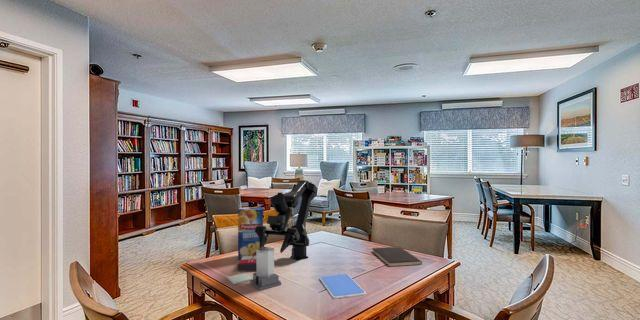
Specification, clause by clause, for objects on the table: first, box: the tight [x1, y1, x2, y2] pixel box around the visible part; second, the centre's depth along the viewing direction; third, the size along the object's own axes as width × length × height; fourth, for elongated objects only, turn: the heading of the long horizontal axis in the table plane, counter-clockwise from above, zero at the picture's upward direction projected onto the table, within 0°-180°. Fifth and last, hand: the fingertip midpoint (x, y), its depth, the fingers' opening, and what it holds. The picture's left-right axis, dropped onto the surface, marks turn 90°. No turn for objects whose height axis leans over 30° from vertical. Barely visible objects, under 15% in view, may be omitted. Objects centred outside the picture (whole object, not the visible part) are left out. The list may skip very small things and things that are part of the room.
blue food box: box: [237, 206, 264, 261], centre depth 155 cm, size 12×8×24 cm, turn 100°
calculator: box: [236, 256, 257, 272], centre depth 141 cm, size 11×4×15 cm
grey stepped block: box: [256, 246, 275, 278], centre depth 120 cm, size 7×5×10 cm
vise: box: [249, 271, 282, 291], centre depth 121 cm, size 9×9×6 cm
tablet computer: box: [318, 273, 367, 300], centre depth 118 cm, size 19×13×1 cm, turn 15°
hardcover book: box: [371, 246, 423, 267], centre depth 153 cm, size 16×23×2 cm
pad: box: [226, 272, 253, 285], centre depth 126 cm, size 8×8×1 cm
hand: (270, 251), depth 125 cm, fingers open, 9 cm apart
